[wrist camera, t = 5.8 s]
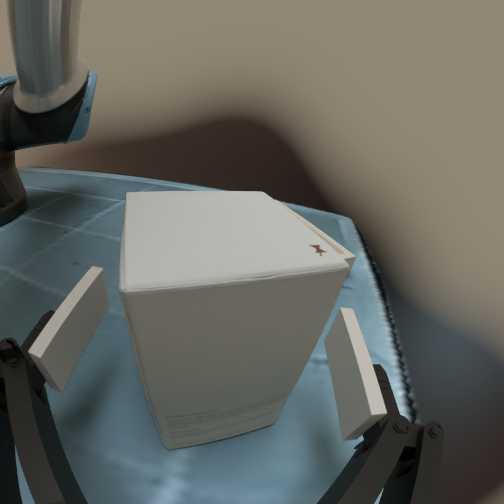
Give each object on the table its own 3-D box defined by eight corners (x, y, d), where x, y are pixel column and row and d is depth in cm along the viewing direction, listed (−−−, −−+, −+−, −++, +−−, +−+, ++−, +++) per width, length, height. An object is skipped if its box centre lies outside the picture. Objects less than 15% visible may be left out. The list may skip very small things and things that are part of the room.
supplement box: (235, 346, 21) (267, 189, 14) (275, 426, 15) (360, 264, 9) (141, 359, 18) (124, 187, 11) (162, 452, 12) (116, 288, 6)
